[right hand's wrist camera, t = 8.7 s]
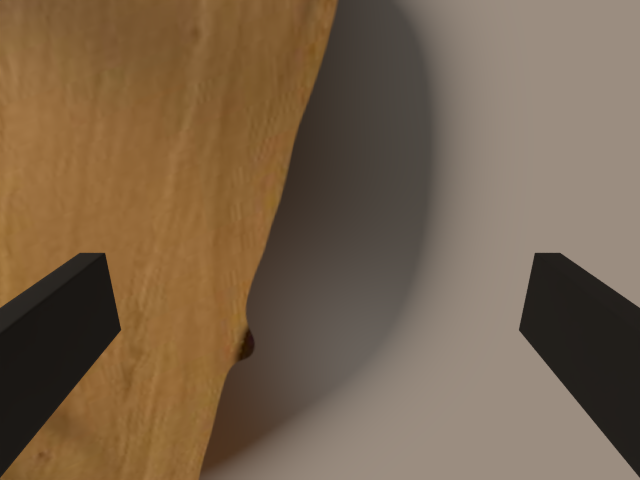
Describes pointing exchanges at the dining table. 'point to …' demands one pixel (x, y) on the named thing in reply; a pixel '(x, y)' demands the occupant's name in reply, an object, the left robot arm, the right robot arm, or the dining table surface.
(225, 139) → the dining table surface
